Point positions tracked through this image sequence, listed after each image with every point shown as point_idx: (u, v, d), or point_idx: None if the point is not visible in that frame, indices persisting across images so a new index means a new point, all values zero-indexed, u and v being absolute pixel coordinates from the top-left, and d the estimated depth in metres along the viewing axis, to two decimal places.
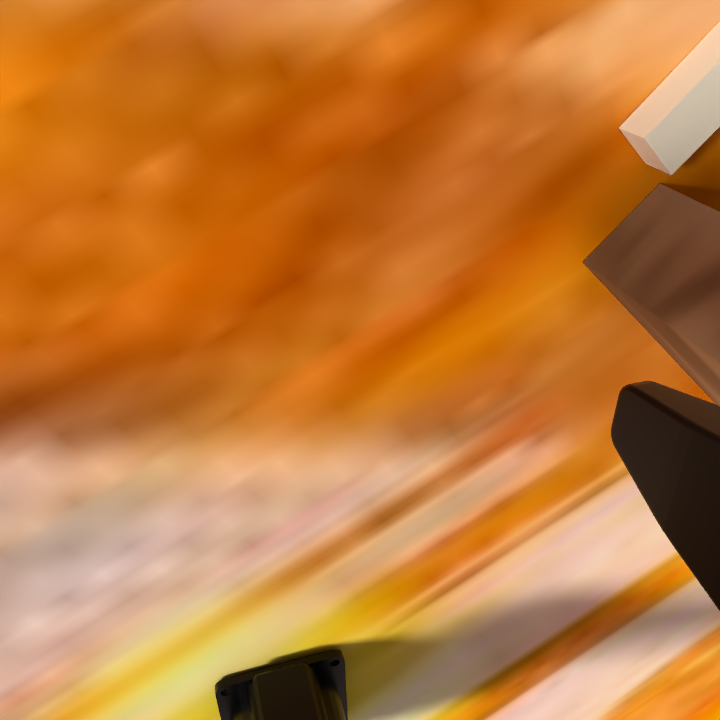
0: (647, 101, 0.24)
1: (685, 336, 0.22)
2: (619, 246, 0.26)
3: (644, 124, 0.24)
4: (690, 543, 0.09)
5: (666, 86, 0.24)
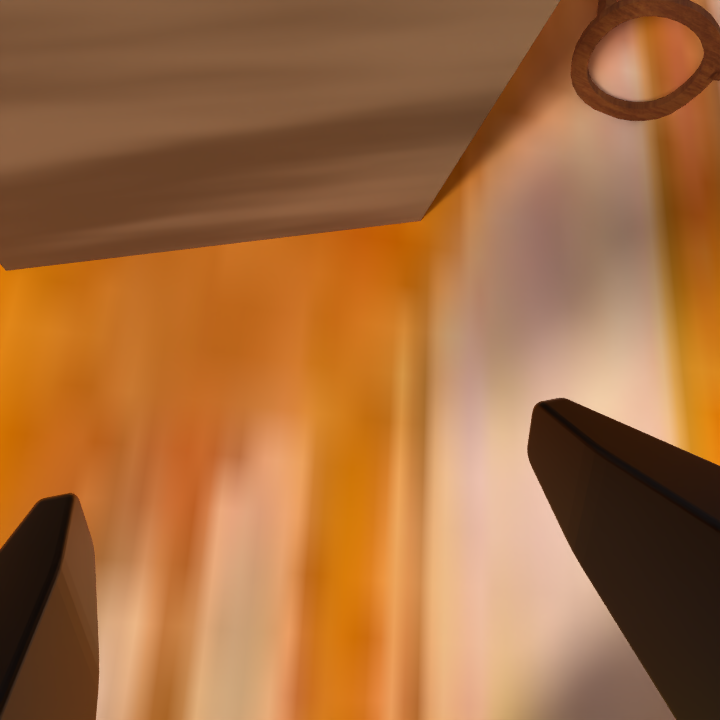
0: None
1: None
2: None
3: None
4: (597, 567, 0.09)
5: None
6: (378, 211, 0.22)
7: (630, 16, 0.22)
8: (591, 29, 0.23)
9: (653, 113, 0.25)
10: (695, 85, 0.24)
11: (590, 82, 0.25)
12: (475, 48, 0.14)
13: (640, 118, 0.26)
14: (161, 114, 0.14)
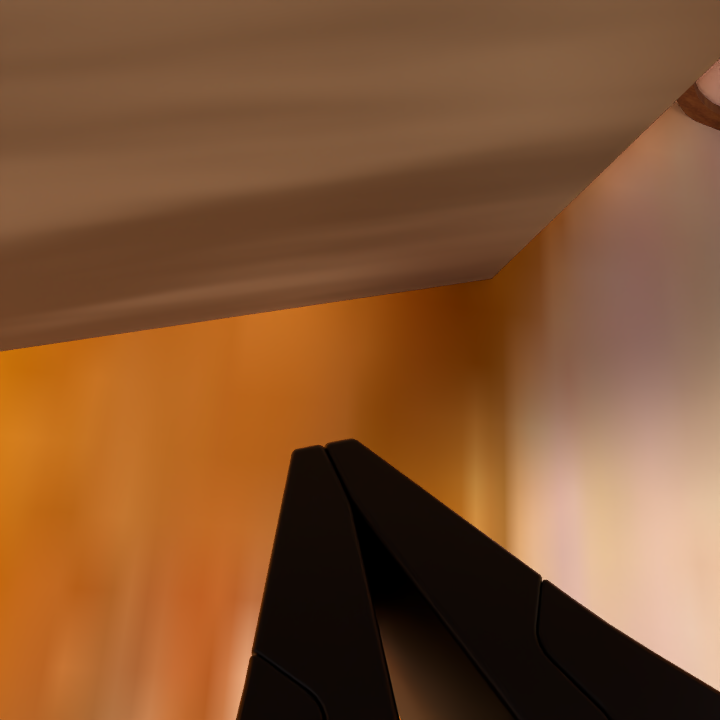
0: None
1: None
2: None
3: None
4: None
5: None
6: (443, 272, 0.17)
7: None
8: None
9: None
10: None
11: (695, 90, 0.20)
12: (638, 66, 0.10)
13: None
14: (165, 168, 0.10)
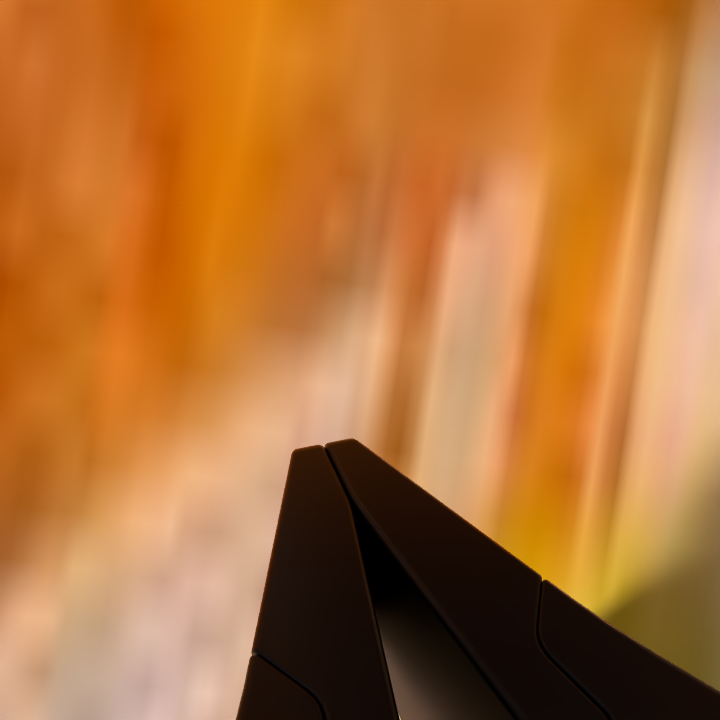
0: None
1: None
2: None
3: None
4: None
5: None
6: None
7: None
8: None
9: None
10: None
11: None
12: None
13: None
14: None
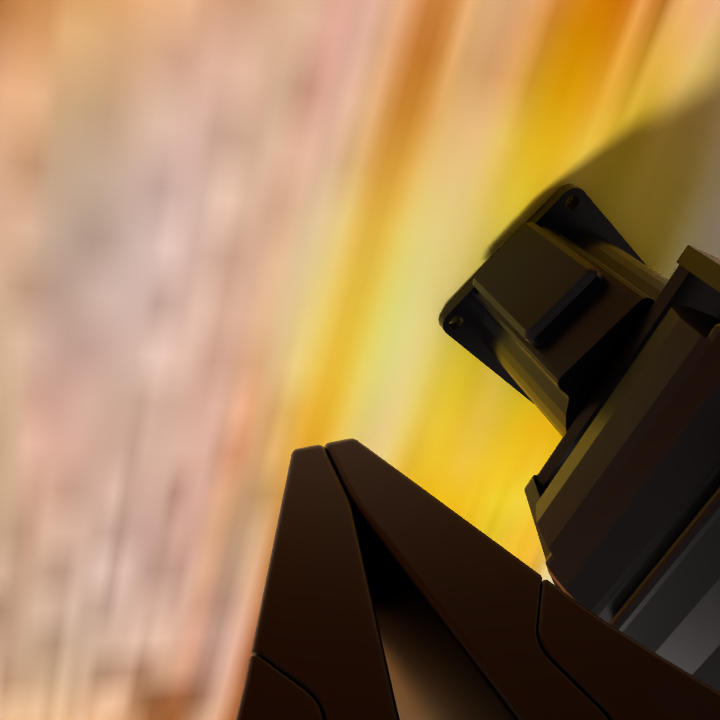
0: None
1: None
2: None
3: None
4: None
5: None
6: None
7: None
8: None
9: None
10: None
11: None
12: None
13: None
14: None
